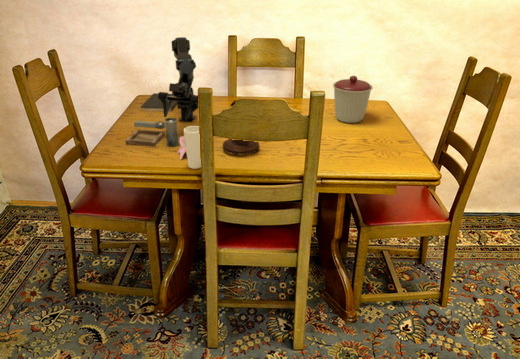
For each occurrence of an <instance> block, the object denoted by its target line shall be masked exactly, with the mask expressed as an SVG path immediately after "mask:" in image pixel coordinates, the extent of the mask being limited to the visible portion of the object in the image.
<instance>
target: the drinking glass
mask: <svg viewBox="0 0 520 359" xmlns="http://www.w3.org/2000/svg"><path fill="white" fill-rule="evenodd" d="M199 127H200V126H198V125H191V126H190V125H188V126H187V127H185V128H183V136H184V142H185V148H186V151H185V153H186V159H187V165H188V168H189V169H192V170H197V169H200V168H202V166H201V159H200V134H199Z"/></svg>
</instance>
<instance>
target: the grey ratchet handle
mask: <svg viewBox="0 0 520 359" xmlns="http://www.w3.org/2000/svg"><path fill="white" fill-rule="evenodd" d="M133 126H134V127H137V128H152V129H158V130H161V129H162V130H163V129H166V127H165V121H160V120H159V121H147V120H135V121H134V122H133Z"/></svg>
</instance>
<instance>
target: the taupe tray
mask: <svg viewBox="0 0 520 359" xmlns="http://www.w3.org/2000/svg"><path fill="white" fill-rule="evenodd" d="M165 136H166V130H165V131H164V130H152V129H151V130H150V129H138V128H137V129H136V130H134V132H133V133H132V134H130V135H129V136H128V137H127V138H126V139H125V141H124V142H125V145H128V146H142V147H152V148H153V147H154V148H155V147H156V146H157V145H158V144H159V143H160V141H161V140H162V139H163V138H164V137H165Z"/></svg>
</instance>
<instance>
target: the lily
mask: <svg viewBox="0 0 520 359" xmlns="http://www.w3.org/2000/svg"><path fill="white" fill-rule="evenodd" d="M179 144H180V147H179V149H178V151H177V154H179V160H180V161H181V160H182V159H183V157H184V154H185V153H186V148H185V142H184V135H182V136H180V137H179Z"/></svg>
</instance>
